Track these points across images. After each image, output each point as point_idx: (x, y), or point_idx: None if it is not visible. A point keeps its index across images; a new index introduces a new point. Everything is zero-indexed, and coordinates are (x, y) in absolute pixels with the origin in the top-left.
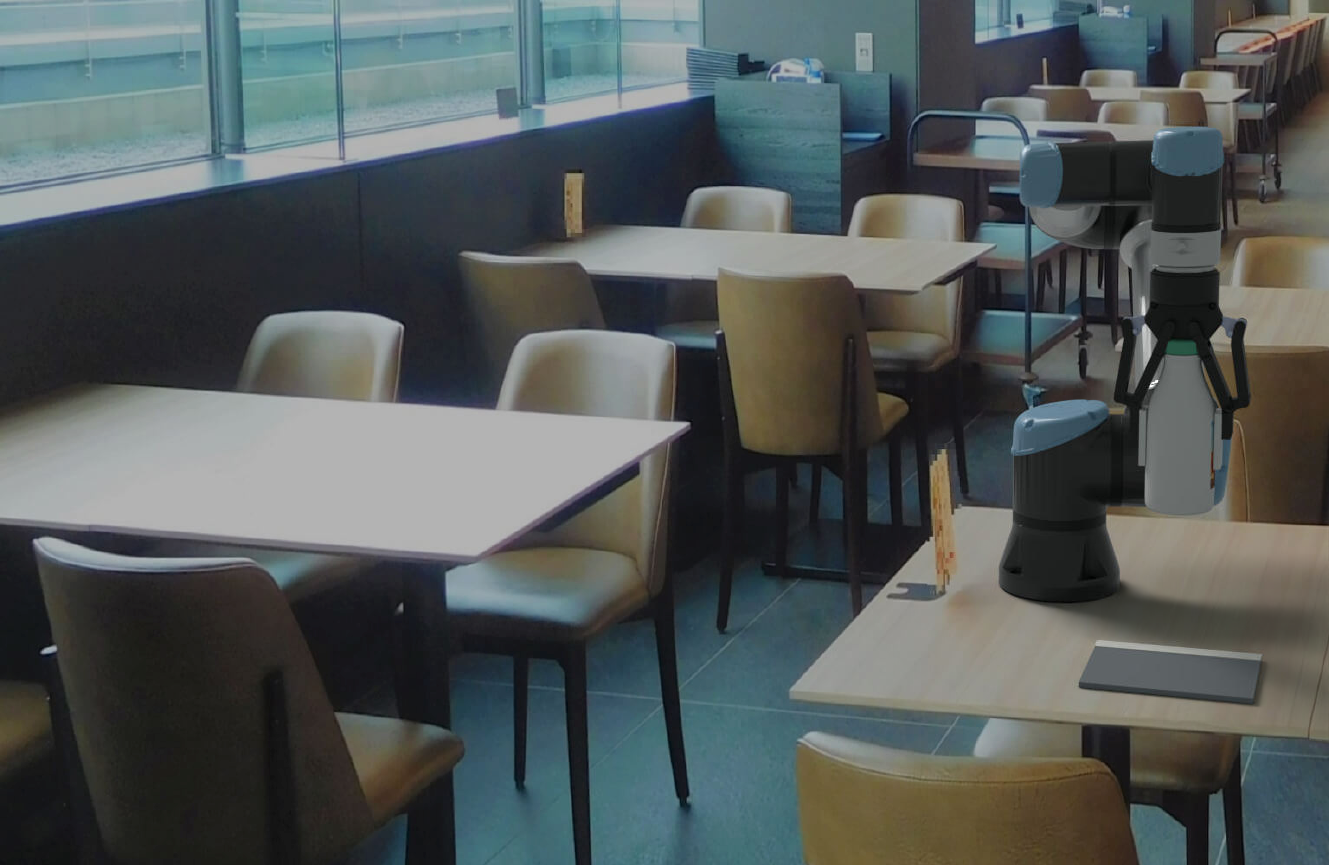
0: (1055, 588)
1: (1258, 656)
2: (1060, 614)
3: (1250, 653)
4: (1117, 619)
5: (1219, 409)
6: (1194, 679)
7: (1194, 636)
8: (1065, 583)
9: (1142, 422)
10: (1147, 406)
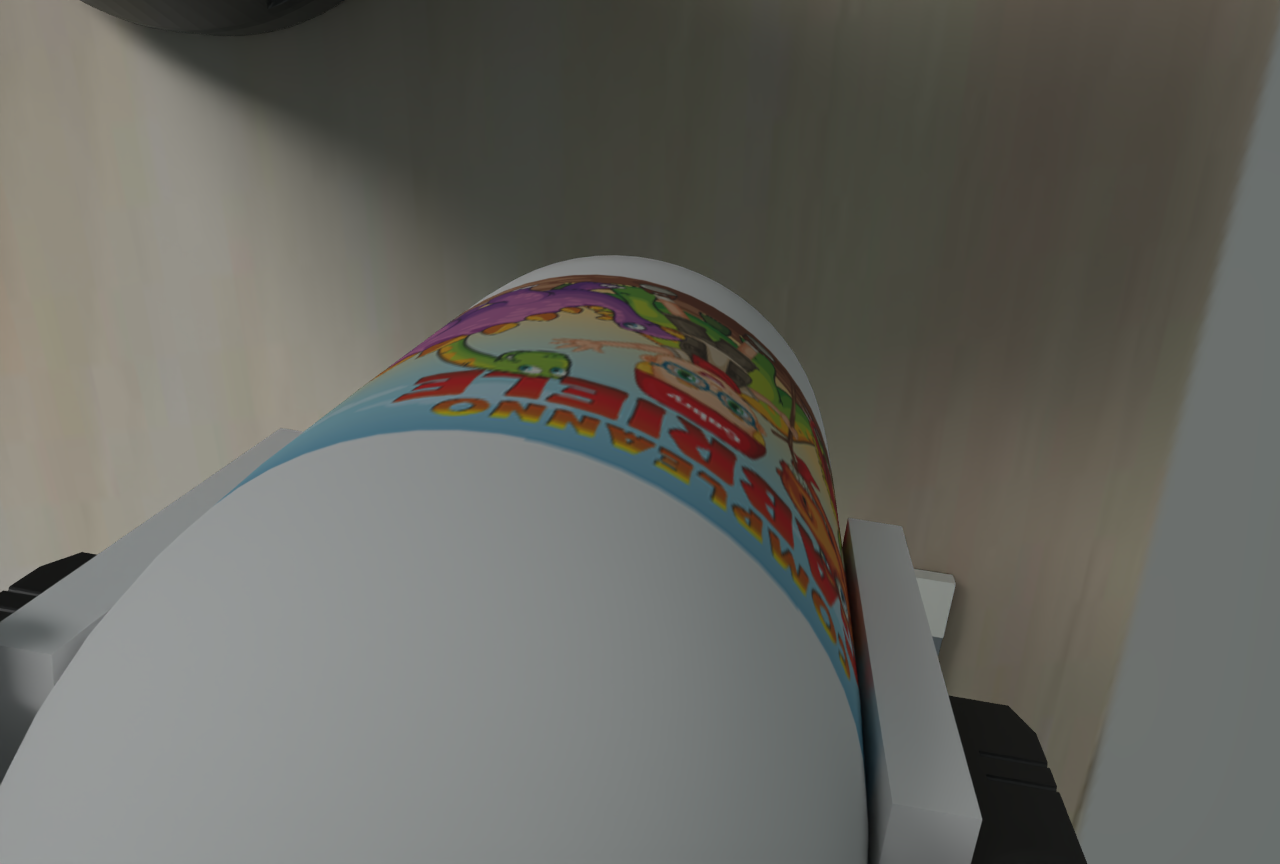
0: (200, 32)
1: (941, 604)
2: (269, 173)
3: (918, 580)
4: (474, 205)
5: (921, 855)
6: None
7: None
8: (228, 25)
9: None
10: (40, 690)
